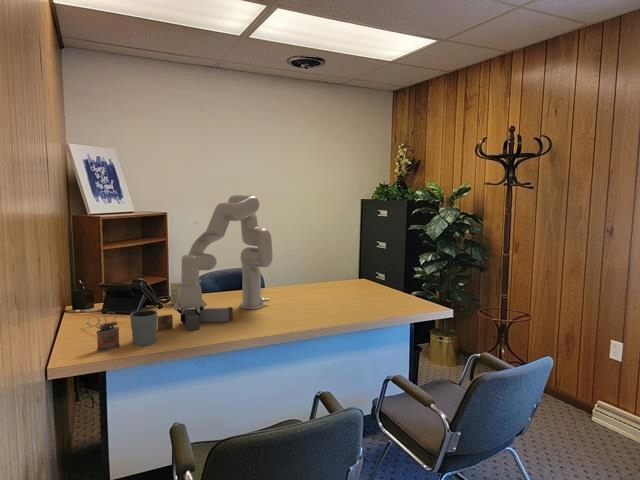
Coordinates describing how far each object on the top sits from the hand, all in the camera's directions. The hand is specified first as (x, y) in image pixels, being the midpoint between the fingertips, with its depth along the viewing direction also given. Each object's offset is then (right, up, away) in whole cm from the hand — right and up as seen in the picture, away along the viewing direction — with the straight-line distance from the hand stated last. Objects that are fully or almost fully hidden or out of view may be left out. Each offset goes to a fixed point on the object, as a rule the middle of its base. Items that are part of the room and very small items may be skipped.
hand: (190, 321), depth 193 cm
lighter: (-22, -5, -30) cm, 37 cm away
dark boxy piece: (+1, -2, -2) cm, 3 cm away
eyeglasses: (-32, -2, -6) cm, 33 cm away
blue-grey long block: (+6, -1, +6) cm, 8 cm away
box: (-15, +3, +35) cm, 38 cm away
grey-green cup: (-12, -4, -22) cm, 25 cm away
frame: (+3, -2, +1) cm, 3 cm away
